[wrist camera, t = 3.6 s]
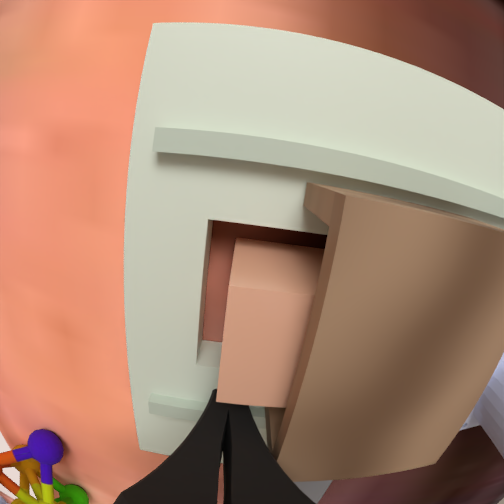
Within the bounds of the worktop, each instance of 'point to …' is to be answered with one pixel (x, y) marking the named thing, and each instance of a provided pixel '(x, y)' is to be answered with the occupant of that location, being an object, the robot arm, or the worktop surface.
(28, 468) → the molecular model
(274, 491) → the robot arm
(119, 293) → the worktop surface
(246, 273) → the terracotta block
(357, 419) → the walnut cover
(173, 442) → the puzzle board
